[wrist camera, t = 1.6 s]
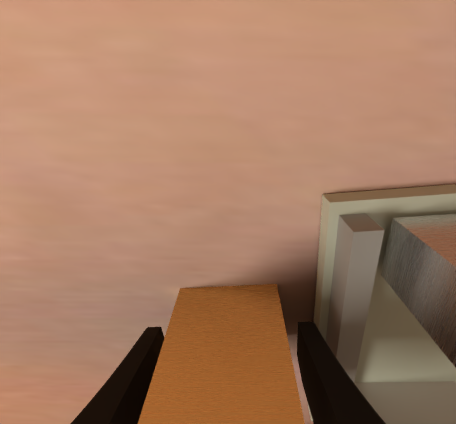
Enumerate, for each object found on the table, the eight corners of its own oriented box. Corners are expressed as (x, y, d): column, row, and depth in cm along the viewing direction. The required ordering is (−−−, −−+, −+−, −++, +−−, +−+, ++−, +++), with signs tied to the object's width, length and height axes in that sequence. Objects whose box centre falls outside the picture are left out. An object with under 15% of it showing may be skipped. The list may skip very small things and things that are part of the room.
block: (277, 335, 12) (302, 494, 7) (192, 338, 13) (162, 490, 8) (276, 283, 11) (307, 437, 6) (180, 288, 11) (134, 436, 6)
